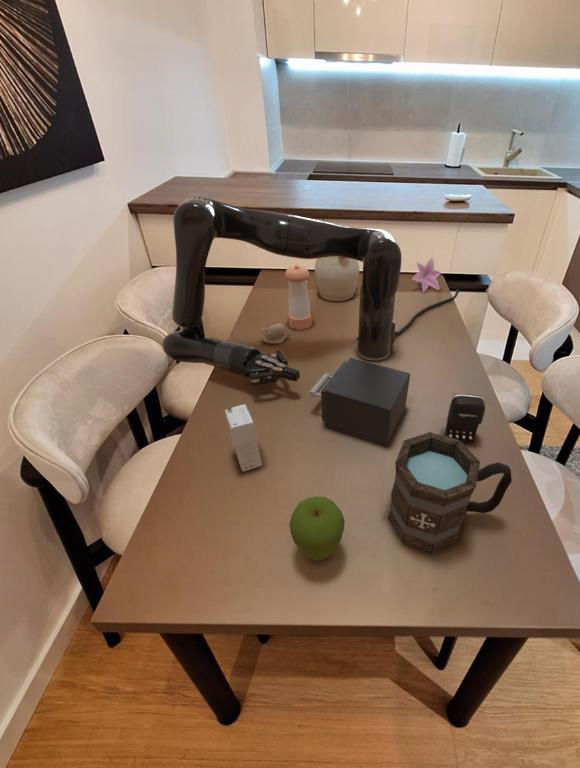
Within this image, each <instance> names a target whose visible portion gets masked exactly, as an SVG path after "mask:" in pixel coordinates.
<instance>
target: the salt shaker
mask: <svg viewBox="0 0 580 768" xmlns="http://www.w3.org/2000/svg"><path fill="white" fill-rule="evenodd" d="M284 277H285V279H287V281H288V300H287V301H288V303H287V305H288V306H287V307H288V314H287V318H288V326H289V327H290V328H291V329H293V330H301V331H302V330H306V329H309V328H311V327H312V325H313V320H312V318H313V317H312V312H311V302H310V298H309V291H308V279H309V278H310V271H309V269H307V267H304V266H303V265H302V266H301V265H299V264H295V265H293V266H290V267H288V268H287V269H286V270H285V272H284Z"/></svg>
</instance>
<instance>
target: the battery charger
mask: <svg viewBox="0 0 580 768" xmlns="http://www.w3.org/2000/svg"><path fill="white" fill-rule="evenodd" d="M485 412H486V403H485V399H484V398H483V397H482V396H481V395H479V394H471V393H455V394H453V396H452V397H451V399H450V402H449V405H448V410H447V415H446V422H445V427H444V429H443V434H444V436H446V437H450V438H454V439H457V440H460V441H461V442H462V443H473V442H475V440H476V434H477V431H478V428H479V425H481V424H482V422H483V420H484V416H485Z"/></svg>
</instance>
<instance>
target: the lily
mask: <svg viewBox="0 0 580 768" xmlns="http://www.w3.org/2000/svg"><path fill="white" fill-rule="evenodd" d="M416 267H417V269H418V272H417V273H415V274H414V275H413V276H412V278H411V279H412V280H413V281H415V282H418V283H421V287H422V292H423V293H425V292H426V291H427V289H428V288H429V286H430V287H431V288H433V289H436V290H438V291H439V290H440V285H439V282H438V279H437V278H438V277H439V276H440V275H441V274H442V272H441V271H439V270H435V261H434V258H433V257H430V258H429V260H428V261H427V262H426V264H422V263H420V262H418V261H417V262H416Z"/></svg>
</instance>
